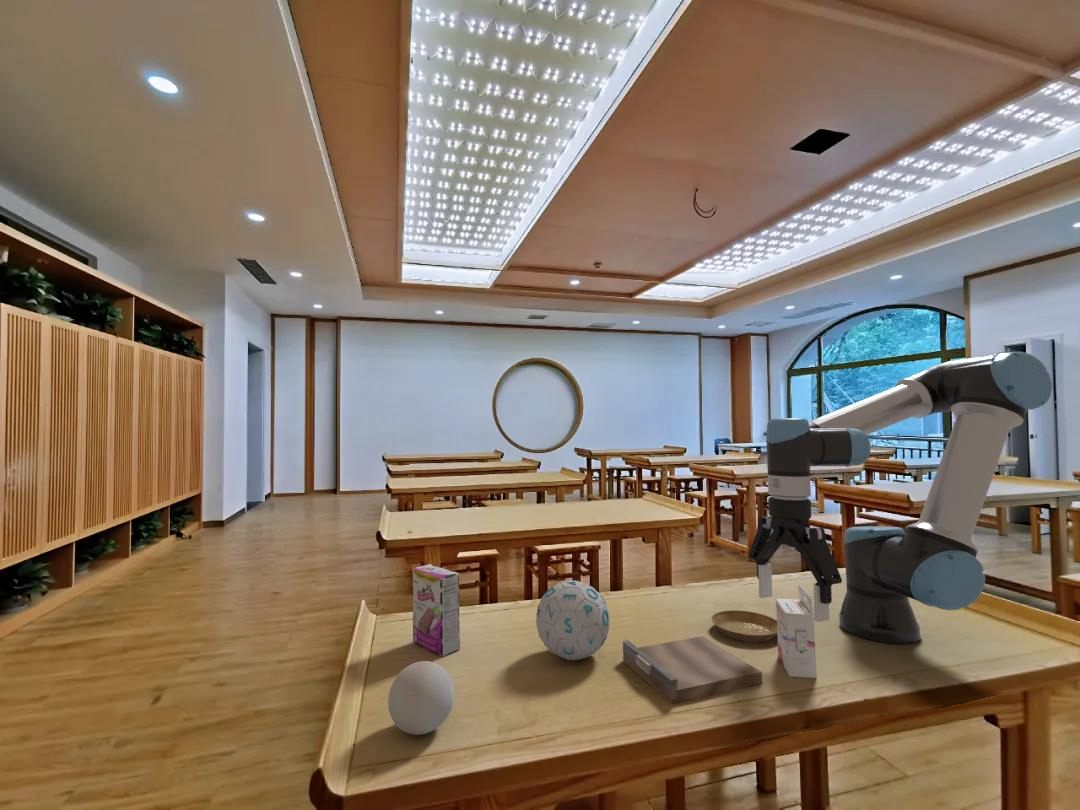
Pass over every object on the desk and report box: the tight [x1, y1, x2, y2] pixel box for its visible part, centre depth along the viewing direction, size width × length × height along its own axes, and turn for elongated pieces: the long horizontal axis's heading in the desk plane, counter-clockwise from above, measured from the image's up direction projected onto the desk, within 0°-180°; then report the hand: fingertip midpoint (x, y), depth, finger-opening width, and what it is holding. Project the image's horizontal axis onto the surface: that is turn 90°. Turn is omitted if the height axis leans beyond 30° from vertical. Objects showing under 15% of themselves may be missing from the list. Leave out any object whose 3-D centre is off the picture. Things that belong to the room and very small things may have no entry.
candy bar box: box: [411, 563, 461, 657], centre depth 110 cm, size 11×5×16 cm, turn 47°
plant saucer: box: [710, 609, 778, 643], centre depth 114 cm, size 15×15×3 cm
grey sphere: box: [387, 660, 455, 736], centre depth 79 cm, size 10×10×10 cm
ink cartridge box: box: [775, 584, 818, 679], centre depth 97 cm, size 9×5×15 cm, turn 168°
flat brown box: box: [622, 635, 763, 704], centre depth 96 cm, size 20×17×4 cm
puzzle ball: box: [535, 579, 610, 661], centre depth 104 cm, size 15×15×15 cm
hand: (792, 608), depth 98 cm, fingers open, 13 cm apart
